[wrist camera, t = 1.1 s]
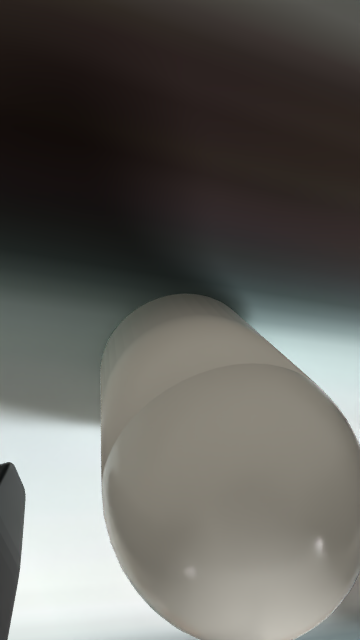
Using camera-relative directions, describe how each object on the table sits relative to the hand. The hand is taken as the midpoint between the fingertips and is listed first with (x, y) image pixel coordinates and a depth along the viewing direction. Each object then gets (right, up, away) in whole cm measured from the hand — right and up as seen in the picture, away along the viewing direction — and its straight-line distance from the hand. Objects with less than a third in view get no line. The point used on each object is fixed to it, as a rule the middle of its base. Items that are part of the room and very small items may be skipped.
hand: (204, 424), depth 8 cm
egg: (-1, +1, +2) cm, 3 cm away
